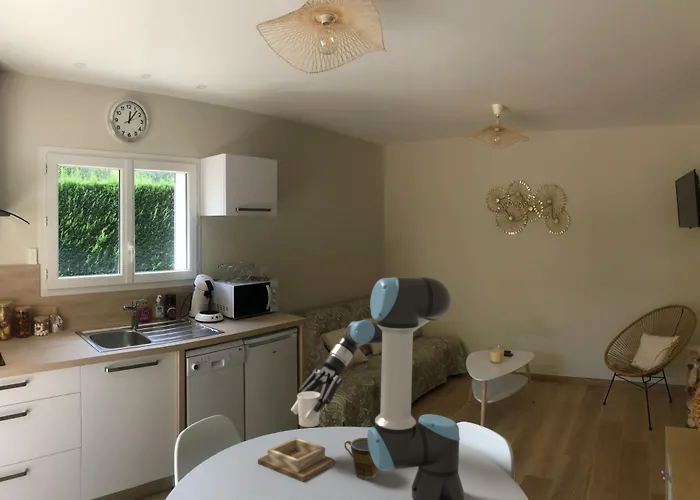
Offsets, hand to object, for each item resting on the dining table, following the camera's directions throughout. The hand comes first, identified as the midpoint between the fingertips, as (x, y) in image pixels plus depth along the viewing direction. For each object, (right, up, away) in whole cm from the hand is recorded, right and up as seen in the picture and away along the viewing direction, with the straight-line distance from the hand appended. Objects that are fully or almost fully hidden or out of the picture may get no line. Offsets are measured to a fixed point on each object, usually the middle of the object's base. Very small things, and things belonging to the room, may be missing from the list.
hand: (300, 415), depth 175 cm
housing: (-1, -15, -2) cm, 16 cm away
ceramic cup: (+20, -16, -9) cm, 27 cm away
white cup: (+3, -4, +2) cm, 5 cm away
